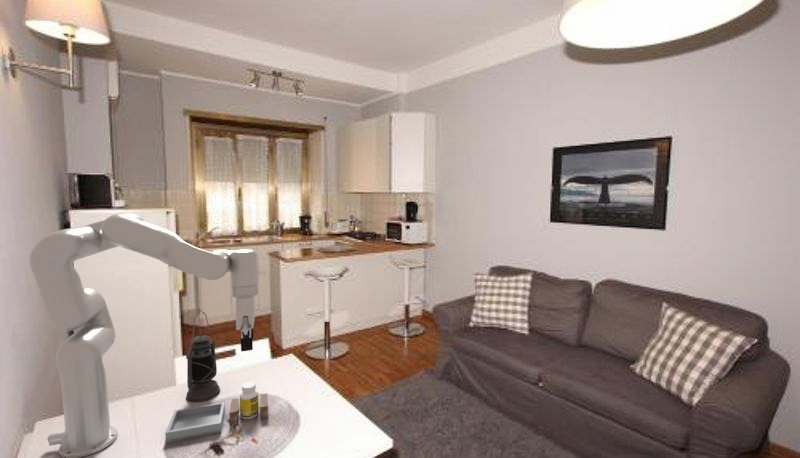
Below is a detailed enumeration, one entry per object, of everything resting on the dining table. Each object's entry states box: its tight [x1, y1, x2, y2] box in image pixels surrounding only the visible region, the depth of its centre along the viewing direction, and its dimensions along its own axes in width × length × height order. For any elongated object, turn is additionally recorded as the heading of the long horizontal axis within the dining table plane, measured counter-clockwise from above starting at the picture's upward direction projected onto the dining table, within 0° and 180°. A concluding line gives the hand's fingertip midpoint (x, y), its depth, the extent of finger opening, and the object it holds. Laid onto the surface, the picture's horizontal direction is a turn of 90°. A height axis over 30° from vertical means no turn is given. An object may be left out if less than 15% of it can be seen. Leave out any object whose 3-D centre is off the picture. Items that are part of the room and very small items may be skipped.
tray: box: [164, 401, 226, 444], centre depth 114 cm, size 14×12×3 cm
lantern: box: [185, 309, 221, 403], centre depth 131 cm, size 12×11×30 cm
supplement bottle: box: [239, 381, 260, 420], centre depth 120 cm, size 5×5×10 cm
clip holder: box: [228, 393, 269, 426], centre depth 120 cm, size 11×8×4 cm
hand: (247, 344), depth 118 cm, fingers open, 9 cm apart
